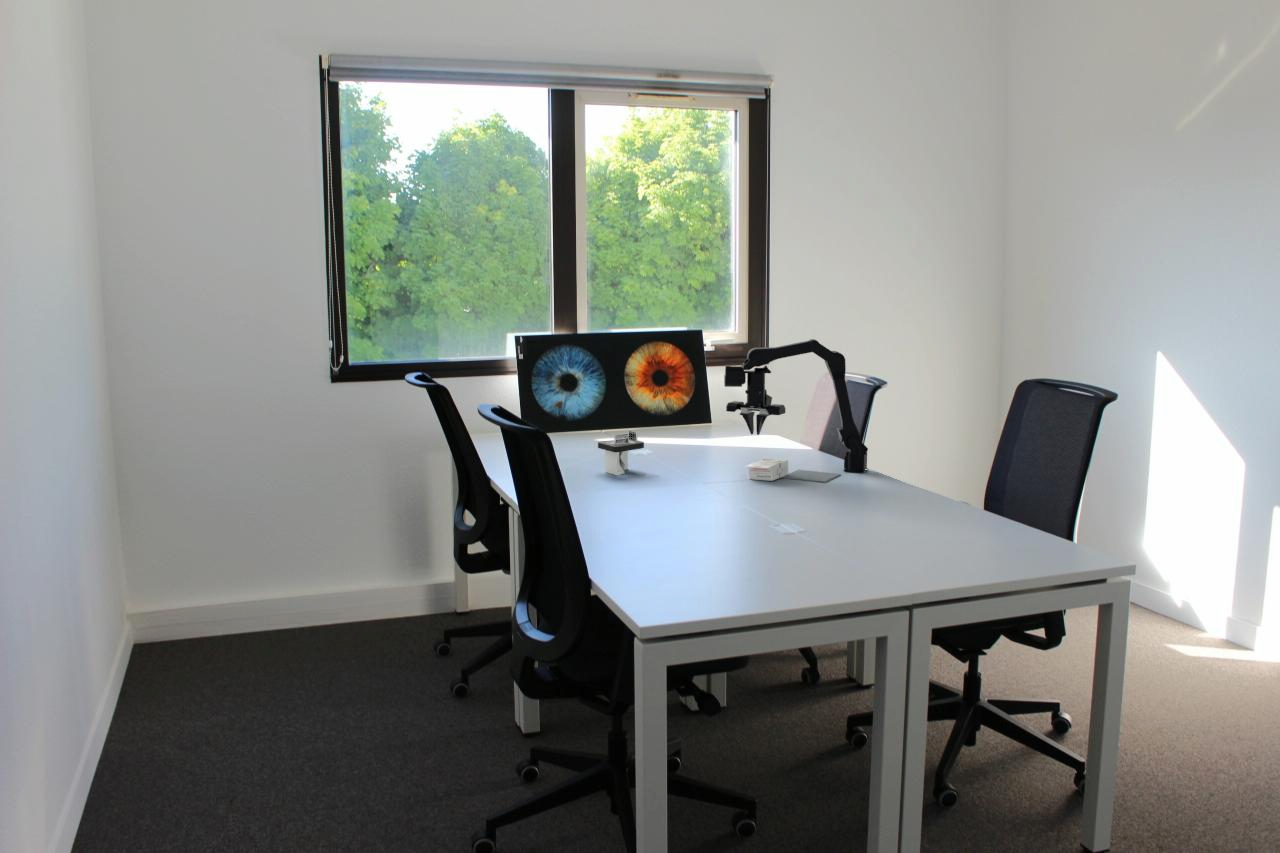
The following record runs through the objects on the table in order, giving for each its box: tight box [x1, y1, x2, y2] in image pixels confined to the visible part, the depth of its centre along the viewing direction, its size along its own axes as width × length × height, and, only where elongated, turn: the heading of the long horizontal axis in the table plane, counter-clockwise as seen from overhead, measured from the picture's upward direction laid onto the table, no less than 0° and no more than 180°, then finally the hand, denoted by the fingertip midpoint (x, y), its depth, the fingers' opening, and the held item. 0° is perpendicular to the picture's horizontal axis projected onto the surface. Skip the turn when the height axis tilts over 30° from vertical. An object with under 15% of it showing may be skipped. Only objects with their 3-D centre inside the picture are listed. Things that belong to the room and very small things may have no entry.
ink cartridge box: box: [745, 458, 790, 482], centre depth 344 cm, size 9×5×15 cm
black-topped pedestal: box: [597, 430, 645, 476], centre depth 353 cm, size 28×26×13 cm
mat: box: [781, 469, 841, 484], centre depth 347 cm, size 14×14×1 cm
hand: (755, 434), depth 355 cm, fingers closed
